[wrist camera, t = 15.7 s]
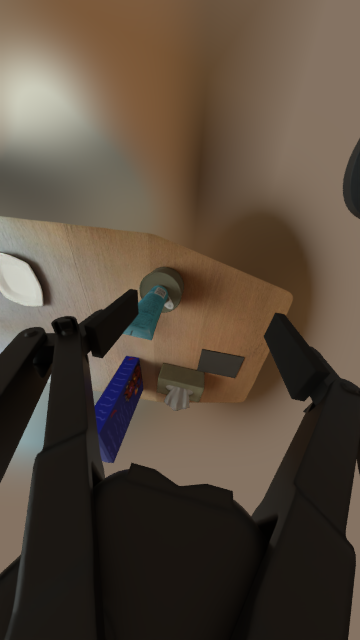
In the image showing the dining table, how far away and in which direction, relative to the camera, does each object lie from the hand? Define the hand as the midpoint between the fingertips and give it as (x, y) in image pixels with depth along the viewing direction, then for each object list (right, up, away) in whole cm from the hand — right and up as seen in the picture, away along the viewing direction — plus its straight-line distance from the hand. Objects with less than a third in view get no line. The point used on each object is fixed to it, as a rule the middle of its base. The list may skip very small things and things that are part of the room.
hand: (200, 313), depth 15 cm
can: (-6, +10, +34) cm, 36 cm away
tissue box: (-1, -25, +55) cm, 60 cm away
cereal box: (-23, -26, +60) cm, 69 cm away
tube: (-8, +7, +29) cm, 30 cm away
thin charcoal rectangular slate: (+14, -18, +48) cm, 53 cm away
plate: (-60, +14, +42) cm, 75 cm away
